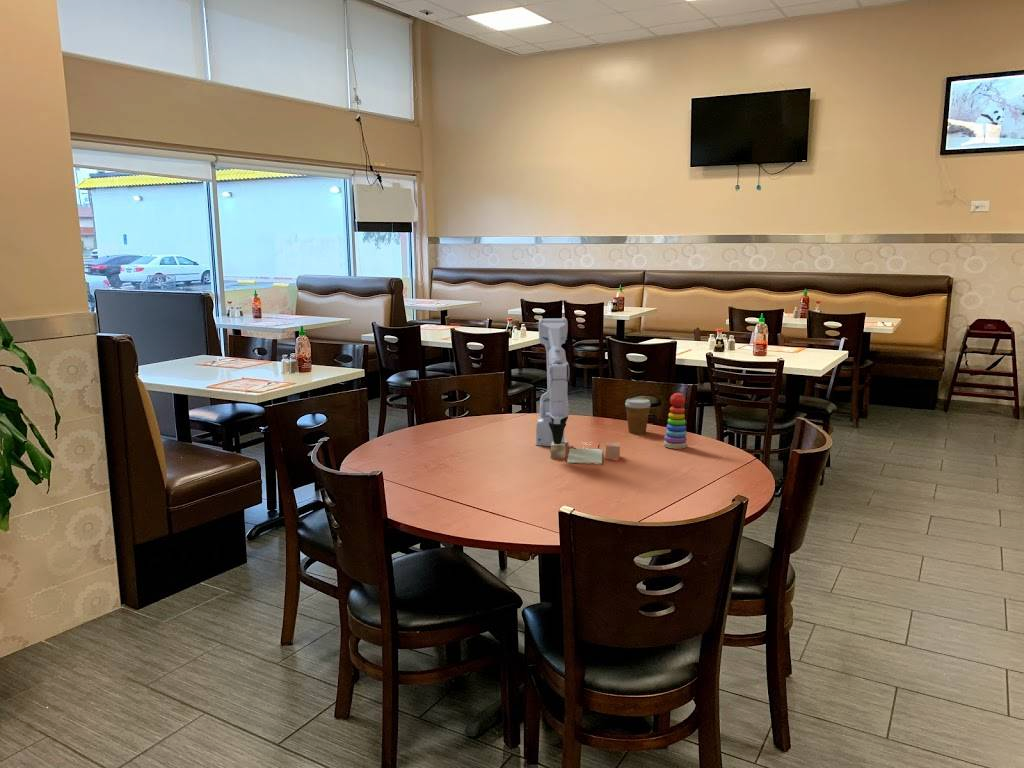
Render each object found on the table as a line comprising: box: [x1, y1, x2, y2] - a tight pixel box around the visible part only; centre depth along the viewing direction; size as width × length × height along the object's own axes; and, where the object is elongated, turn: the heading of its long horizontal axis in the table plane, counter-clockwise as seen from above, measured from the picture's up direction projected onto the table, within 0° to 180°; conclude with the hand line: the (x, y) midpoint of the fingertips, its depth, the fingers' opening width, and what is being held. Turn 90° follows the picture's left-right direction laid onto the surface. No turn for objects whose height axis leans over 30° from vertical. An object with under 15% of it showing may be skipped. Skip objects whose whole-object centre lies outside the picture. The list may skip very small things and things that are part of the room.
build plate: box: [566, 448, 603, 465], centre depth 249 cm, size 11×16×1 cm
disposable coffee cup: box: [624, 397, 652, 435], centre depth 282 cm, size 10×10×12 cm
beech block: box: [550, 442, 567, 459], centre depth 250 cm, size 4×4×4 cm
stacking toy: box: [663, 392, 688, 450], centre depth 260 cm, size 8×8×19 cm
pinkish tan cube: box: [605, 442, 621, 460], centre depth 248 cm, size 4×4×4 cm
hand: (558, 440), depth 249 cm, fingers open, 7 cm apart
